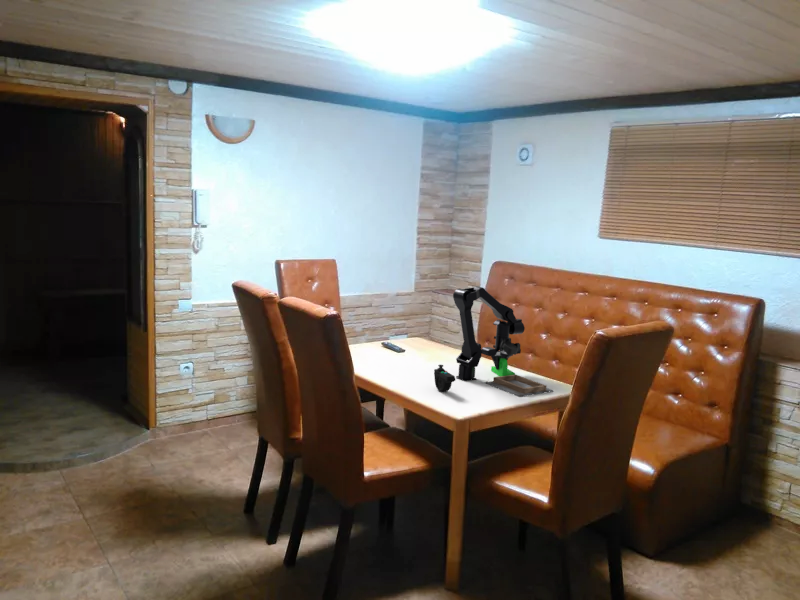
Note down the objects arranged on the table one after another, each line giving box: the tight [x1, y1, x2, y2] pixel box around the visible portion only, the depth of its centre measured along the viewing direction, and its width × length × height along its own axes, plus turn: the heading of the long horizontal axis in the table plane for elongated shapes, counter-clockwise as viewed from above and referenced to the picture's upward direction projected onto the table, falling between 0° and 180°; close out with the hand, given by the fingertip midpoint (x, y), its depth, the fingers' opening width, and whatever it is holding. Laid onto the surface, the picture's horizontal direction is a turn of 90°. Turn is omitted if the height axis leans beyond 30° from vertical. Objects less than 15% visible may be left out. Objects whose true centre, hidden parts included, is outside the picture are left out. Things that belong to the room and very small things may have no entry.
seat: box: [485, 373, 554, 398], centre depth 257 cm, size 19×20×3 cm
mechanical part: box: [490, 358, 516, 377], centre depth 277 cm, size 12×6×8 cm, turn 16°
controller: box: [433, 364, 456, 393], centre depth 244 cm, size 4×12×10 cm, turn 24°
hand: (499, 369), depth 276 cm, fingers closed on mechanical part, 2 cm apart
